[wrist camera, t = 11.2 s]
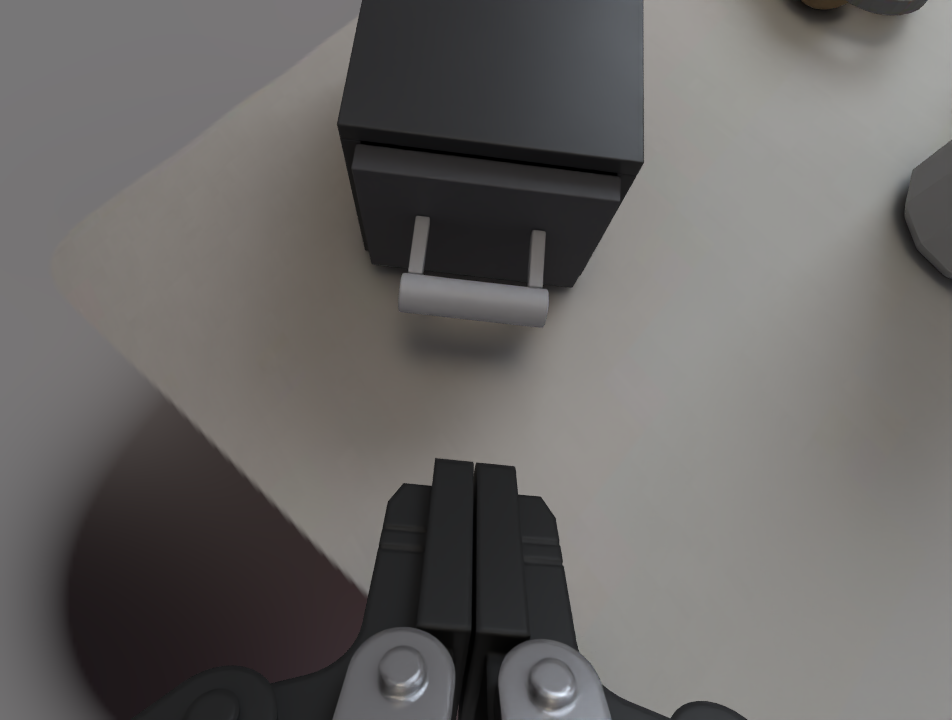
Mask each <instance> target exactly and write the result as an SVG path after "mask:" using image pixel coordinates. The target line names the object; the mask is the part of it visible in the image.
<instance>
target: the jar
mask: <svg viewBox="0 0 952 720" xmlns="http://www.w3.org/2000/svg"><path fill="white" fill-rule="evenodd" d="M904 217H905V220H906V223H907V225H908V228H909V230H910V233H911V236H912V238H913V241H914V244H915V246H916V249H917V250H918V251H919V252H920V253H921V254H922V255H923V256H924V257H925V258H926V259H928V260H929V261H930V262H931V263H932V264H933V265H934V266H935V267H936V268H937V269H938V270H939V271H940V272H941V273H942V274H943V275H944V276H946V277H948V278H951V279H952V140H951V141H950V142H948V143H947V144H946V145H944V146H943V147H942V148H941V149H939V150H938V151H937V152H935V153H934V154H933V155H931V156H930V157H929V158H928V159H926V160H925V161H924V162H922V163H921V164H920V165H918V166H917V167H916V168H915V169H913V171H912V175H911V180H910V185H909V190H908V194H907V199H906V204H905V215H904Z"/></svg>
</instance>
